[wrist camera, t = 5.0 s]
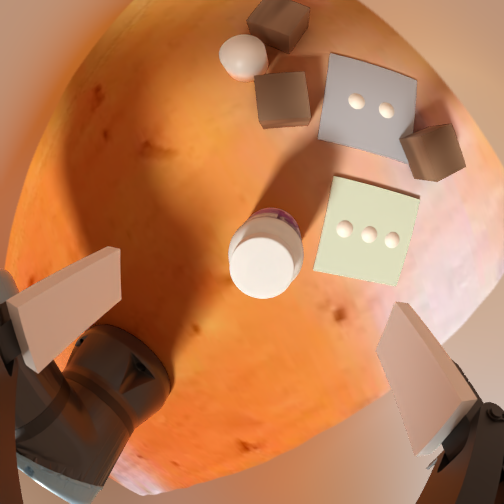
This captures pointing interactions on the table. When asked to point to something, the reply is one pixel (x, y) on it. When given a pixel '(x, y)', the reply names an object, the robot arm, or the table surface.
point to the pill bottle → (266, 253)
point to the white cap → (244, 57)
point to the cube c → (433, 152)
